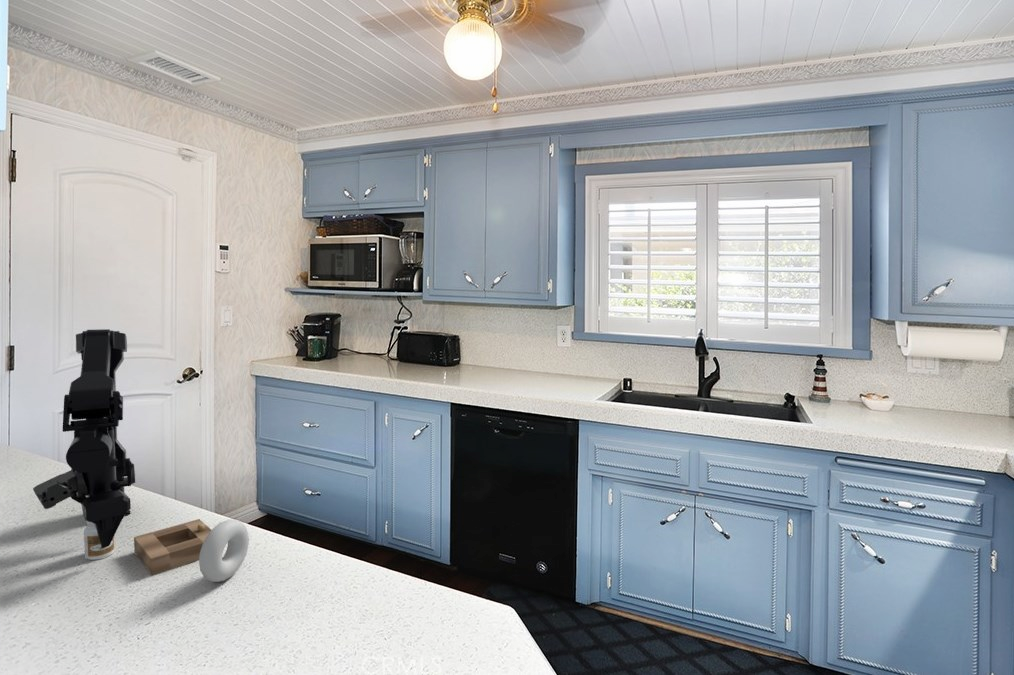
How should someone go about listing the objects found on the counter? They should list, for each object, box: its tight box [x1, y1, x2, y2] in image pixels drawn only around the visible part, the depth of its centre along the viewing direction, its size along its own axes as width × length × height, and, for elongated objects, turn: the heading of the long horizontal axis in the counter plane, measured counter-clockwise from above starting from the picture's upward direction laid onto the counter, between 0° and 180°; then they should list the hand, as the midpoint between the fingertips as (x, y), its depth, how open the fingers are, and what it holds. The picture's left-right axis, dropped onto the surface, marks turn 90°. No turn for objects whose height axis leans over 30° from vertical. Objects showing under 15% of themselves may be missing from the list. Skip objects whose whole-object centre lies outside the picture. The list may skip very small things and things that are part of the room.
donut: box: [198, 519, 250, 583], centre depth 91 cm, size 10×4×10 cm, turn 168°
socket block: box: [133, 518, 212, 576], centre depth 99 cm, size 11×11×4 cm
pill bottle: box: [83, 520, 116, 561], centre depth 98 cm, size 4×4×8 cm
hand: (99, 538), depth 98 cm, fingers open, 9 cm apart
